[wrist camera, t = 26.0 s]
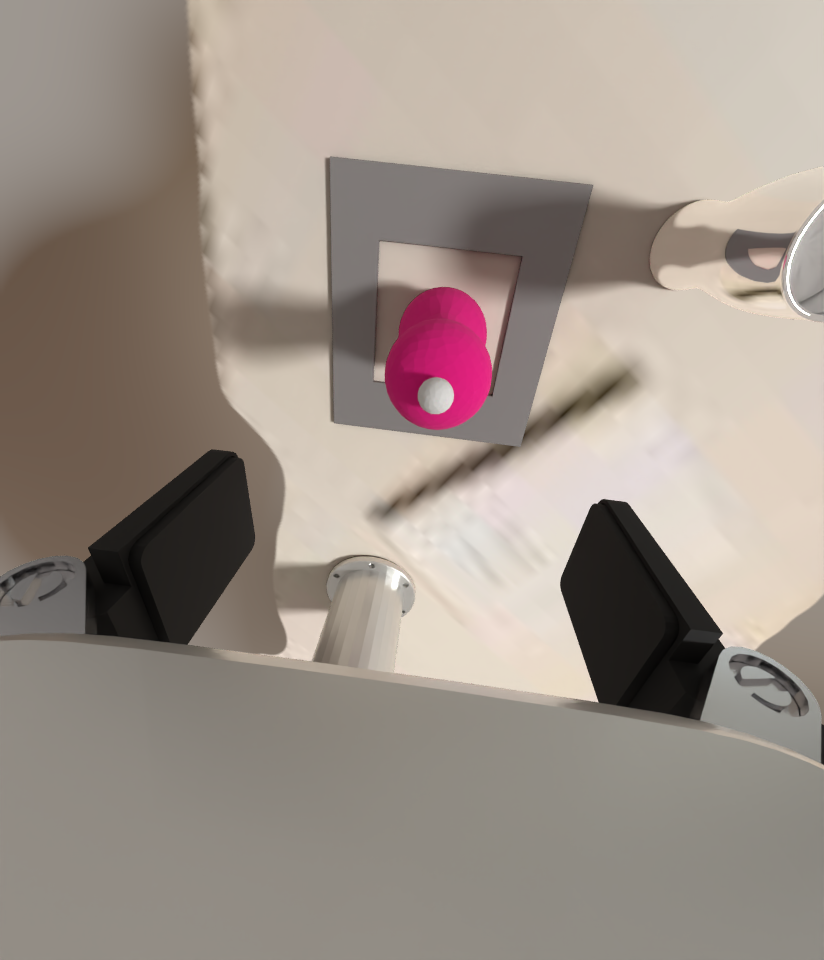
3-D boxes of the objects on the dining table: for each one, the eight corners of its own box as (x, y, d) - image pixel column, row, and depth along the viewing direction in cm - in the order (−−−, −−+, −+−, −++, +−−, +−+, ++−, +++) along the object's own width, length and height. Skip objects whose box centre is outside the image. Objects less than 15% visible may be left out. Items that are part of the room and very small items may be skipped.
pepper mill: (388, 319, 35) (327, 386, 18) (452, 263, 32) (454, 279, 15) (434, 381, 37) (420, 491, 20) (498, 334, 35) (543, 417, 18)
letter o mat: (519, 444, 40) (520, 446, 40) (335, 421, 41) (334, 423, 40) (591, 185, 28) (593, 184, 28) (331, 157, 29) (329, 156, 29)
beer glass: (644, 307, 32) (769, 346, 20) (641, 214, 29) (789, 188, 16) (737, 278, 31) (940, 299, 18) (745, 175, 27) (1001, 112, 15)
